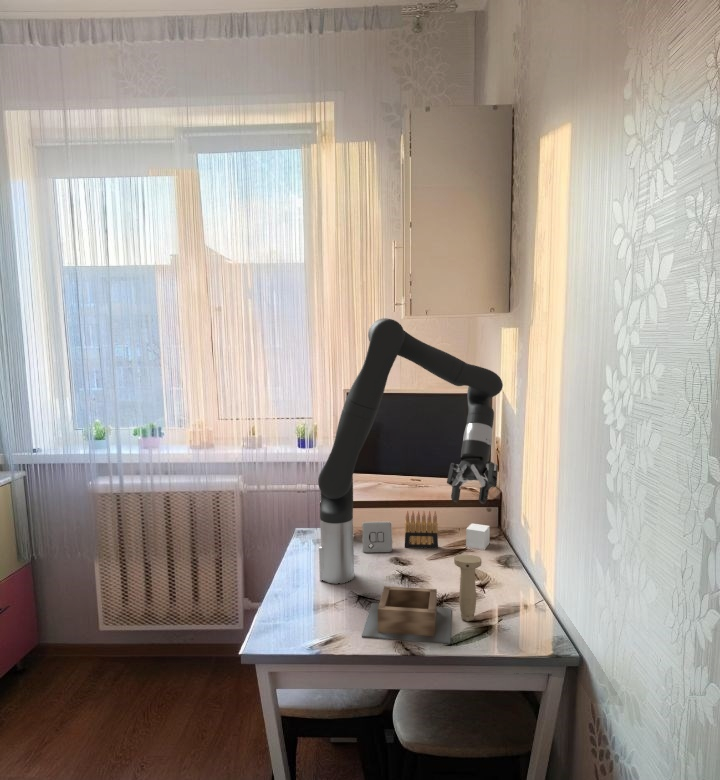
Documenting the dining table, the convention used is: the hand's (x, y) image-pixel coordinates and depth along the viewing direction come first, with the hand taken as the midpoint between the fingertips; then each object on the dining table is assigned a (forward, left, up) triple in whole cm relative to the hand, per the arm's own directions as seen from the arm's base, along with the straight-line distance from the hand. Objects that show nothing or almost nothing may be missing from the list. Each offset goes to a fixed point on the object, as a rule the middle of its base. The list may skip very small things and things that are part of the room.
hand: (468, 502), depth 152 cm
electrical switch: (-28, +27, -25) cm, 47 cm away
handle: (0, -14, -25) cm, 28 cm away
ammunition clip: (-14, +31, -25) cm, 43 cm away
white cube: (+4, +35, -25) cm, 43 cm away
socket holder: (-14, -18, -25) cm, 34 cm away
